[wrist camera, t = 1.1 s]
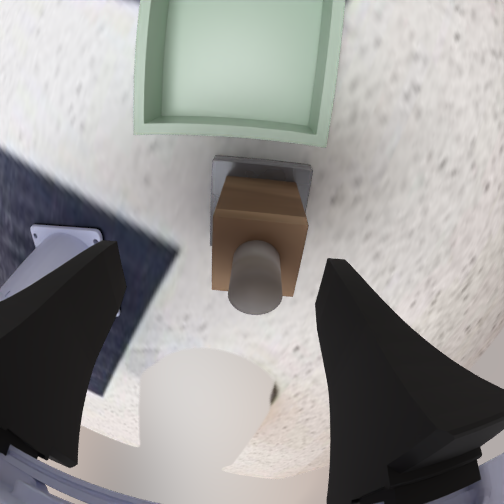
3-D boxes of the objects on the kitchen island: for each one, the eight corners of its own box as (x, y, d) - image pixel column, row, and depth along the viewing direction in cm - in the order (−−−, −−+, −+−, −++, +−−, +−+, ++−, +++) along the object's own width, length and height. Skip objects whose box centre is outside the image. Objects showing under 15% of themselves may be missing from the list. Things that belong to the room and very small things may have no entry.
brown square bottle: (286, 241, 20) (296, 332, 13) (223, 235, 20) (204, 325, 13) (296, 182, 17) (317, 257, 11) (226, 175, 17) (202, 247, 11)
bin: (314, 135, 17) (326, 147, 14) (155, 123, 17) (133, 134, 14) (332, -11, 11) (347, -28, 8) (165, -19, 11) (146, -35, 8)
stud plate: (295, 244, 21) (303, 289, 17) (212, 236, 21) (200, 280, 17) (310, 164, 18) (325, 194, 14) (215, 155, 18) (200, 182, 14)
